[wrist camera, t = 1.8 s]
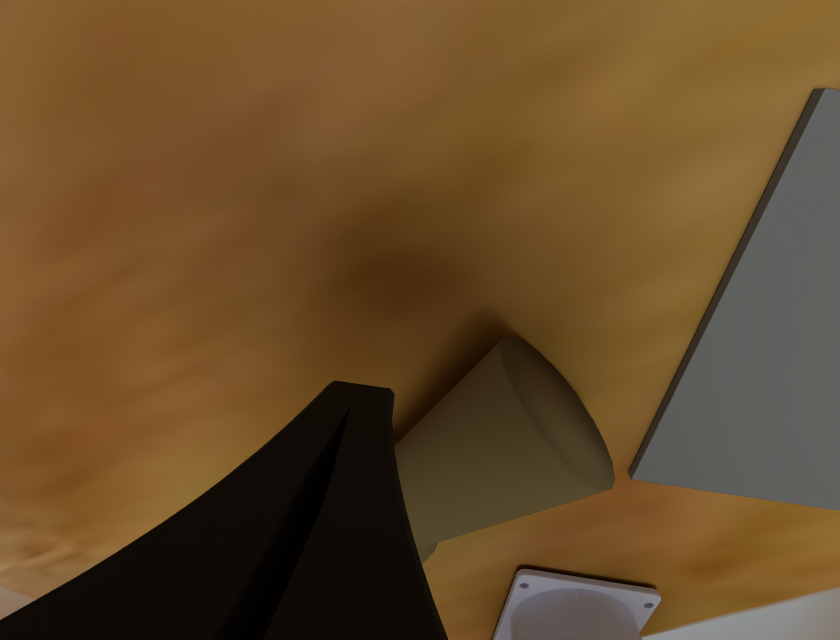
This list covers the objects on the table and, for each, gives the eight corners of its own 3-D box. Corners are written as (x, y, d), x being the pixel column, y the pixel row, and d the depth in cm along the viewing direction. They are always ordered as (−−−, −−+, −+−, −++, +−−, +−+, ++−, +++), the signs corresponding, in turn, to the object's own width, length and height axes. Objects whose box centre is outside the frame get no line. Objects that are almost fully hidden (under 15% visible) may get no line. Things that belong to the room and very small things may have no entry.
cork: (489, 309, 16) (322, 443, 20) (520, 437, 11) (291, 575, 15) (580, 386, 18) (412, 490, 23) (639, 520, 13) (409, 618, 18)
